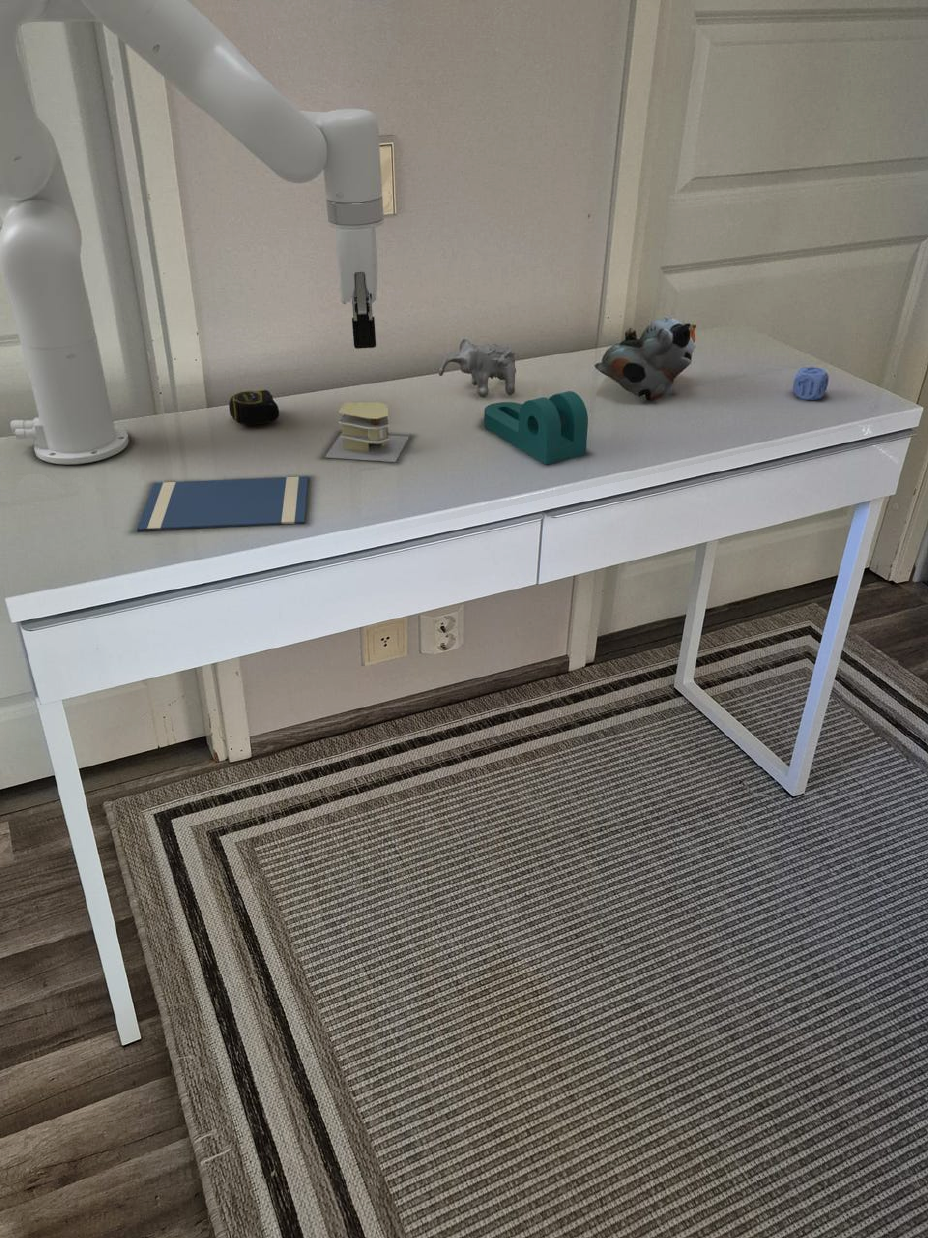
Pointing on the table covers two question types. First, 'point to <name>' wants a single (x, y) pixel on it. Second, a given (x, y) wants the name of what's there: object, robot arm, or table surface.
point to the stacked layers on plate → (366, 434)
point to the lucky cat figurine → (650, 358)
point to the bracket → (542, 426)
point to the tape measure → (253, 407)
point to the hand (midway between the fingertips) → (365, 345)
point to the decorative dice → (810, 383)
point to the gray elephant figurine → (485, 365)
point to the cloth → (225, 503)
